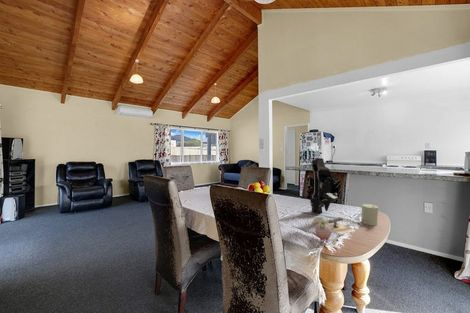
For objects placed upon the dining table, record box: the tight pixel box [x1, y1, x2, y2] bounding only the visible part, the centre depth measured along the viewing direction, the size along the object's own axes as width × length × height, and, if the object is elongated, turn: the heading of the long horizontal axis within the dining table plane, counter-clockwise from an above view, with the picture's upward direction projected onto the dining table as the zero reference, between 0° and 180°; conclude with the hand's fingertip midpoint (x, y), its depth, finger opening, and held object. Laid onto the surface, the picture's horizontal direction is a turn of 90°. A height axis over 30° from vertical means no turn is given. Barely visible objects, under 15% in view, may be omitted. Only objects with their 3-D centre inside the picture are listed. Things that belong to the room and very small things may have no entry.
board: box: [308, 220, 355, 235], centre depth 137 cm, size 22×14×2 cm, turn 36°
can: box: [360, 203, 379, 227], centre depth 145 cm, size 9×9×12 cm
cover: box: [313, 215, 331, 224], centre depth 141 cm, size 8×6×3 cm
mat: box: [292, 225, 307, 232], centre depth 137 cm, size 10×10×1 cm
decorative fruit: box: [314, 222, 333, 241], centre depth 120 cm, size 9×8×10 cm
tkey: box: [329, 216, 344, 227], centre depth 134 cm, size 11×2×5 cm, turn 121°
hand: (322, 212), depth 141 cm, fingers open, 9 cm apart
